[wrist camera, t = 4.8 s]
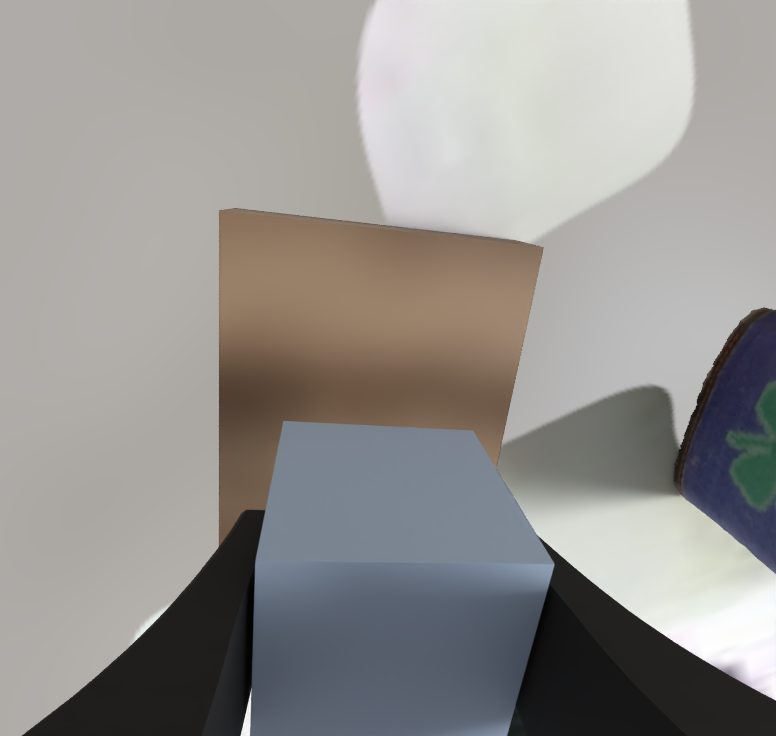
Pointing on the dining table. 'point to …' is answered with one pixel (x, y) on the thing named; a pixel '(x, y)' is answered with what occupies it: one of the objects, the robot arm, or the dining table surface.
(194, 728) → the robot arm
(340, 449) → the slate cube
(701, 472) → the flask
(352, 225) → the walnut base
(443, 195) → the dining table surface
